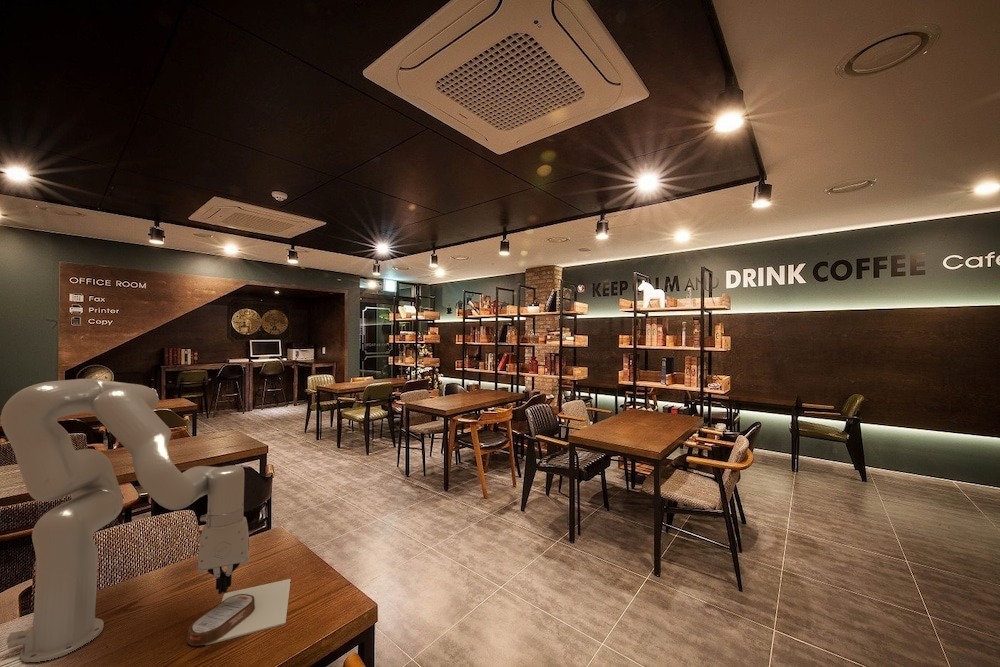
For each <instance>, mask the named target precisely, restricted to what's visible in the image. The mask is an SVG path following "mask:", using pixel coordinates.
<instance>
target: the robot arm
mask: <svg viewBox="0 0 1000 667" xmlns="http://www.w3.org/2000/svg"><path fill="white" fill-rule="evenodd" d="M158 404H159V397H158V395H157V393H156V392H155V390H153V389H152V388H150V387H149V386H146V385H143V384H137V383H128V382H120V381H112V380H107V379H106V380H105V379H97V378H76V379H63V380H62V379H61V380H52V381H45V382H39V383H36V384H32V385H30V386H27V387H24V388H23V389H20V390H19V391H17V392H15V393H14V394H13V395H12V396H11V397H10V398H9V399H8V400H7V401H6V403H5V404H4V406H3V407H2V410H1V414H0V424H1V427H2V430H3V433H4V435H5V436H6V438H7V440H8V442H9V444H10V445H11V448H12V451H13V453H14V455H15V456H14V457H15V459H16V463H17V465H18V468H19V471H20V473H21V476H22V479H23V482H24V486H25V488H26V490H27V492H28V494H29V496H30V497H31V498H32V499H33V500H35V501H39V502H51V501H52V502H53V501H56V500H59V499H62V498H64V497H67V496H70V497H71V499H70V500H67V501H65V502H63V503H61V504H59V505H56V506H54V507H53V508H51V509H50V510H49V511H47V512H46V513H44V514H43V515H42V516H41V517H40V518H39V519H38V520H37V522H36V523H35V525H34V527H33V529H32V532H31V539H32V540H31V541H32V544H33V548H34V552H35V565H36V566H35V568H36V569H35V591H34V605H33V608H34V609H33V622H32V627H30V629H26V630H19V631H15V632H11V633H10V634H9V635H8V637H7V640H6V643H7V648H8V649H12V648H15V647H18V646H22V647H23V648H22V649H21V650H20V654H19V655H20V657H19V659H20V658H21V659H20V661H21V660H22V661H25V662H39V663H41V662H40V661H45V662H47V661H46V660H49V661H52V660H55V659H59V658H61V657H63V656H66V655H69V654H71V653H73V652H75V651H77V650H78V649H77V648H79V647H81V646H83V645H84V644H86V643H88V642H89V643H91V642H92V641H94V640H95V639H96V638H97V637H98V636H99V635H100V634H101V633H102V632H103V629H104V625H105V624H104V620H103V619H101V618H98V617H96V603H97V601H96V600H97V585H98V584H97V582H98V568H99V567H98V566H99V552H98V546H97V545H96V543H95V540H94V536H93V535H94V533H96V532H97V531H98V530H101V529H102V528H103V527H105V526H107V525H108V524H110V523H112V521H114V520H115V519H116V518H117V517H118V516H119V515H120V513H122V510H123V507H124V497H123V493H122V491H121V487H120V484H119V482H118V478H117V476H116V473H115V471H114V470H115V469H114V467H113V464H112V462H111V461H110V459H109V458H108V456H107V455H106V454H104V453H103V452H102V451H100V450H97V449H93V448H83V449H82V448H81V449H77V450H76V449H75V447H74V445H73V442H72V438H71V436H70V434H69V432H68V431H67V430H66V429H65V427H63V426H62V425H61V423H59V422H58V419H59V418H61V417H65V416H73V415H77V414H81V413H93V415H94V416H95V418H96V419H97V420H98V421H99V422H100V423H102V425H103V426H104V427H105V428H106V429H107V431H109V432H110V434H112V435H113V437H114V438H115V439H116V440H117V441H118V442H119V443H120V444H121V445H122V446H123V448H125V449H126V450H127V451H128V452H129V454H130V455H131V459H132V460H131V461H132V467H133V470H134V473H135V476H136V479H137V482H138V483H139V485H140V487H141V488H142V489H143V491H145V493H147V495H148V496H150V498H152V500H154V502H155V503H157V504H158V505H159V506H161V507H163V508H165V509H168V510H171V511H178V510H182V509H185V508H187V507H189V506H190V505H192V504H193V503H194V502H196V501H197V500H199V499H200V498H202V497H204V496H206V495H207V513H206V514H204V515H200V517H199V522H205V523H206V524H204V525H203V527H202V531H201V534H200V540H199V548H198V553H197V554H198V556H197V568H198V569H197V573H209V574H210V575H212V576H213V577H214V579H215V590H217V591H218V593H217V594H218V595H221V594H225V593H228V592H227V591H228V589H229V588H231V586H232V582H233V580H232V579H233V578H232V577H233V576H232V574H233V572H234V571H235V570H236V569H237V568H238V567H239V566H243V565H245V564H247V563H249V561H250V559H251V558H250V554H249V550H250V548H249V547H250V539H249V538H250V535H249V526H248V525H249V524H248V520H247V517H246V516H244V511H245V510H244V509H245V508H244V504H245V503H244V502H245V501H244V500H245V469H244V467H243V466H241V465H236V464H235V465H234V464H233V465H225V466H206V465H205V466H204V465H199V466H193V467H191V468H187V469H186V470H185V471H183V472H182V471H181V470H179V469H178V467H176V465H175V464H174V462H173V461H172V459H171V457H170V454H169V442H170V441H171V437H172V436H171V435H172V430H171V428H170V427H169V426H168V425H167V424H166V423H165V422H164V421H163V420H162V419H161V418H160V416H158V414H157V413H156V412H155V409H156V408H157V406H158ZM223 567H226V570H225V571H224V570H223ZM94 638H95V639H94ZM93 639H94V640H93ZM91 640H92V641H91ZM90 641H91V642H90ZM89 643H88V644H89ZM86 645H87V644H86ZM83 647H84V646H83ZM81 648H82V647H81ZM76 649H77V650H76ZM79 649H80V648H79ZM74 650H75V651H74ZM72 651H73V652H72ZM70 652H71V653H70ZM68 653H69V654H68ZM58 657H59V658H58ZM54 658H55V659H54ZM51 659H52V660H51ZM22 661H21V662H22ZM25 662H24V663H25Z"/></svg>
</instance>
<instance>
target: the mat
mask: <svg viewBox="0 0 1000 667" xmlns="http://www.w3.org/2000/svg"><path fill="white" fill-rule="evenodd" d="M291 581H292V579H291V578H287V579H283V580H279V581H273V582H269V583H265V584H261V585H256V586H252V587H247V588H242V589H238V590H234V591H229V592H226V593H223V596H222V600H221V602H222V601H224V600H225V599H227V598H229V597H232V596H235V595H238V594H248V595H252V596H254V599H255V604H254V605H255V609H254V611H253V612H252V614H250V615H249V616H248V617H247V618H245V619H244V620H243V621H242V622H240V623H239V624H238V625H236V626H235V627H234V628H233V629H231V630H230V631H229V632H228V633H226V634H225V635H224V636H222V637H221V638H219V639H218V640H216V641H213V642H211V643H208V644H205V645H204V646H208V645H212V644H216V643H219V642H224V641H227V640H231V639H232V640H233V639H235V638H238V637H239V638H240V637H242V636H247V635H250V634H254V633H258V632H261V631H265V630H269V629H273V628H276V627H280V626H283V625H286V623H287V616H288V615H287V614H288V607H289V601H290V597H289V596H290V591H291V590H290V589H291V583H290V582H291Z"/></svg>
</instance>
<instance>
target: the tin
mask: <svg viewBox="0 0 1000 667" xmlns="http://www.w3.org/2000/svg"><path fill="white" fill-rule="evenodd" d="M254 604H255V599H254V596H252V595H248V594H238V595H235V596H232V597H229V598H227V599H225V600H224V601H222V600H221V602H219V603H218V604H216V605H215V606H214V607H213V608H211V609H209V610H207V611H206V612H205V613H204V614H202V615H201V616H199V617H198V618H196V619H195V620H194V621H192V623H191V624H190V625H189V626H188V631H187V632H188V633H187V638H186V641H187V644H189V645H191V646H194V647H195V646H197V647H198V646H206V645H205V644H208V643H211V642H213V641H216V640H218V639H219V638H221V637H222V636H224V635H225V634H226V633H228V632H229V631H230V630H231V629H233V628H234V627H235V626H236V625H238V624H239V623H240V622H242V621H243V620H244V619H245V618H247V617H248V616H249V615H250V614H252V612H253V611H254V609H255V605H254Z"/></svg>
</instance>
